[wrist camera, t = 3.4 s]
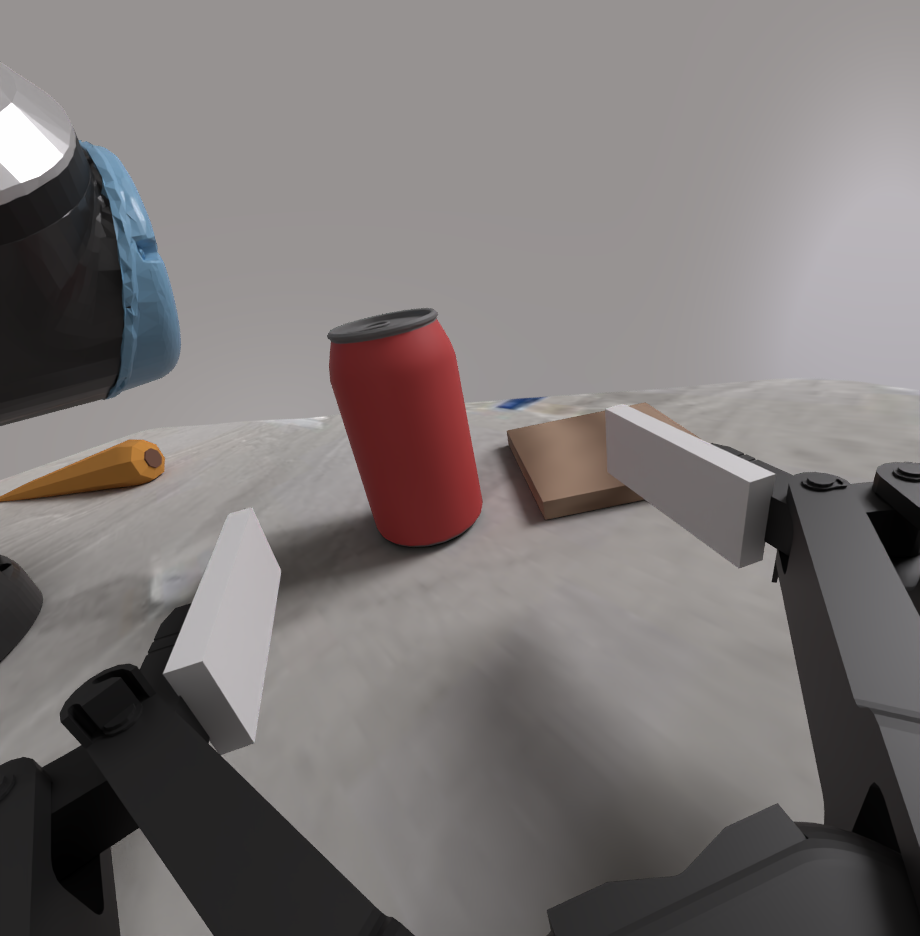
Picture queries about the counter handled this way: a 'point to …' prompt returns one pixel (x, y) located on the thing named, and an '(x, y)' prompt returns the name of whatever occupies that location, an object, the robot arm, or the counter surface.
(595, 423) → the walnut board
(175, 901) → the counter surface
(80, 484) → the carrot
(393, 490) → the beer can
